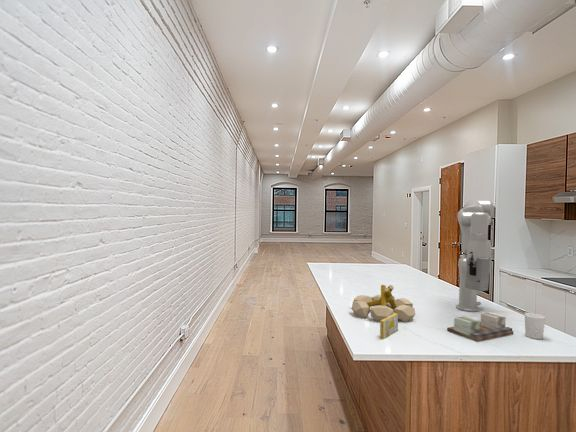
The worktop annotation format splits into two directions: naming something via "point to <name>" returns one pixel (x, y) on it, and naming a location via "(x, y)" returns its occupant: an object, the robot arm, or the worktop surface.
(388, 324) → the candy box
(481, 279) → the skincare box
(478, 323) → the board
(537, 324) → the white cup
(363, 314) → the campfire
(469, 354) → the worktop surface
